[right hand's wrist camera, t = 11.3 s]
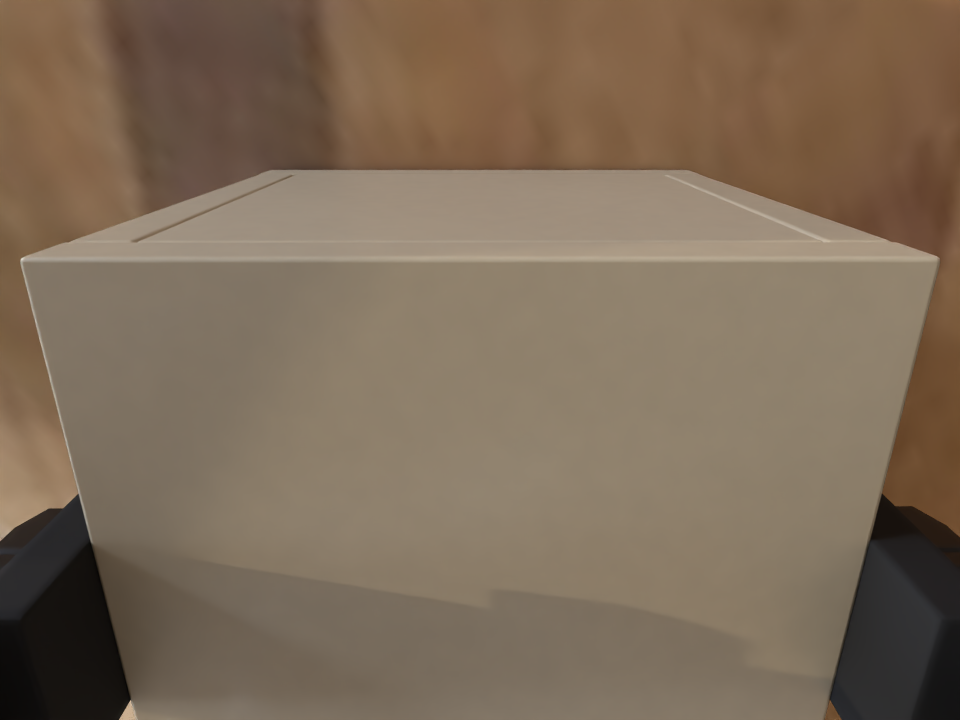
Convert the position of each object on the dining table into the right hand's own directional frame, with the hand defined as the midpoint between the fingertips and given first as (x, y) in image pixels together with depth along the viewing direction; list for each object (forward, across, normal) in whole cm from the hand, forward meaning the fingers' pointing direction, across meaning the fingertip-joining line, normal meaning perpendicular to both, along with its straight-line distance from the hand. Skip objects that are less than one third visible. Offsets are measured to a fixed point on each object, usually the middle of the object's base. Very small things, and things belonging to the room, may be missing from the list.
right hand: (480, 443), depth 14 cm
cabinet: (+4, 0, -5) cm, 6 cm away
